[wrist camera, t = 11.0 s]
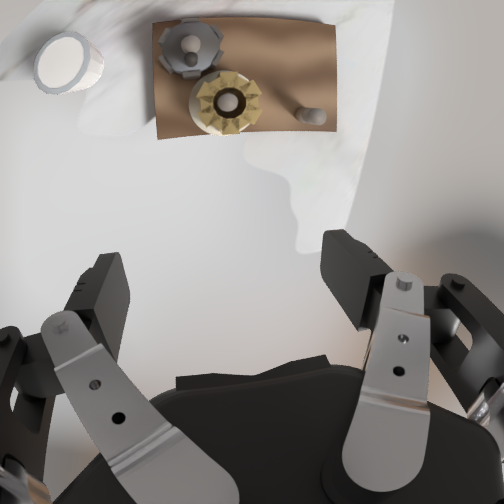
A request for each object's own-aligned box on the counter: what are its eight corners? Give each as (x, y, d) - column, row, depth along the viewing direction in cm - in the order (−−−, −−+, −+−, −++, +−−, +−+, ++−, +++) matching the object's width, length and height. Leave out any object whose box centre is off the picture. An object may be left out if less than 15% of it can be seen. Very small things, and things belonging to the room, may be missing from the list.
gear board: (154, 27, 26) (143, 6, 18) (328, 28, 29) (361, 14, 22) (159, 140, 32) (149, 150, 25) (329, 132, 36) (362, 141, 28)
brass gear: (195, 77, 28) (195, 73, 24) (254, 75, 29) (261, 71, 25) (197, 133, 31) (198, 136, 28) (255, 129, 32) (262, 132, 28)
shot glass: (119, 50, 26) (102, 39, 20) (93, 102, 29) (71, 102, 22) (74, 36, 24) (51, 25, 18) (50, 86, 26) (23, 85, 20)
